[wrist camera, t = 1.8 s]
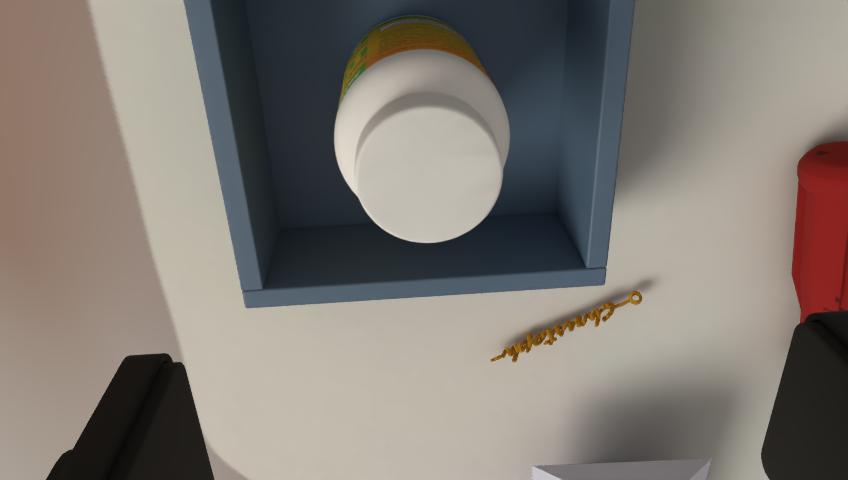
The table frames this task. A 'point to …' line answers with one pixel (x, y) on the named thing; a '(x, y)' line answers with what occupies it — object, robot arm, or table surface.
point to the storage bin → (341, 208)
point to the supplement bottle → (421, 130)
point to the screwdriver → (822, 230)
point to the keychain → (578, 320)
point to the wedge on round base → (626, 470)
